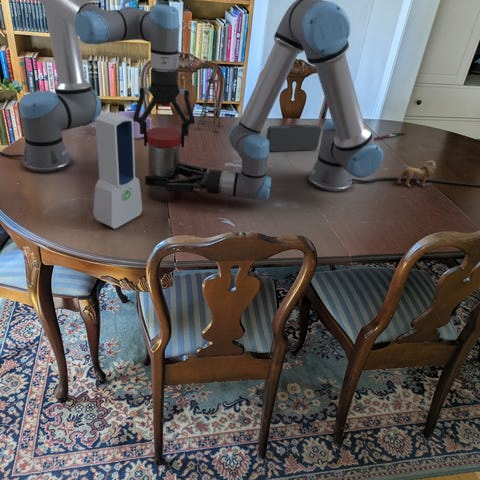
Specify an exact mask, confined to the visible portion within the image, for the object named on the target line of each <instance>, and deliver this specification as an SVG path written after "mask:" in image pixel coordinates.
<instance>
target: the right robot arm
mask: <svg viewBox="0 0 480 480" xmlns="http://www.w3.org/2000/svg"><path fill="white" fill-rule="evenodd" d="M350 21H351V20H350V18H349V16H348V14H347V12H346V11H345V10H344V9H343V8H342V7H341V6H339V5H338V4H337V3H335V2H333V1H330V0H329V1H328V0H295V1H294V2H292V4H291V5H289V7H288V8H287V10H286V11H285V13H284V14H283V16H282V18H281V20H280V22H279V24H278V26H277V28H276V31H275V33H274V35H273V40H274V44H273V46H272V48H271V51H270V52H269V55H268V57H267V59H266V62H265V64H264V66H263V68H262V71H261V72H260V75H259V77H258V79H257V82H256V84H255V86H254V88H253V90H252V93H251V95H250V97H249V99H248V101H247V104H246V105H245V108H244V111H243V113H242V115H241V117H240V119H239V121H238V124H235V125H233V126H232V128H231V129H230V130H229V133H228V140H229V142H230V145H231V146H232V148H233V149H234V150H235V151H236V153H237V154H238V157H240V159H241V168H240V169H241V170H240V172H236V171H229V170H223V171H222V170H220V169H214V168H213V169H212V168H211V169H209V171H208V168H207V167H201V166H197V165H192V164H188V163H184V162H180V161H179V176H183V177H184V178H179V179H174V180H169V179H168V178H160V177H153V176H149V175H145V176H144V183H145V184H144V185H146V186H149V185H152V186H159V187H166V189H167V192H179V193H193V194H200V193H201V192H200V191H201V190H204V189H205V190H206V193H207V194H211V195H219V194H220V195H221V196H226V197H235V198H242V199H249V200H253V201H267V200H269V198H270V192H271V186H272V185H271V184H272V177H270V176H268V175H266V173H267V167H268V159H269V154H270V151H269V140H268V139H267V138H266V137H265V136H262V135H260V134H261V132H262V129H263V128H264V125H265V123H266V122H267V119H268V117H269V115H270V113H271V111H272V109H273V107H274V105H275V103H276V101H277V99H278V97H279V95H280V92H281V91H282V88H283V86H284V84H285V83H286V80H287V78H288V76H289V74H290V72H291V70H292V68H293V66H294V64H295V62H296V59H297V57H298V55H300V54H302V53H304V54H305V57H306V60H307V63H308V64H310V65H313V66H314V67H315V70H316V73H317V76H318V80H319V82H320V86H321V89H322V92H323V95H324V99H325V102H326V105H327V108H328V111H329V114H330V117H331V118H328V119H326V120H325V122H324V124H323V128H322V132H321V133H322V134H321V139H320V143H319V149H318V154H317V159H316V161H315V163H314V165H313V167H312V168H311V170H310V172H309V175H308V182H309V183H310V184H311V185H312V186H313V187H314V188H317V189H319V190H322V191H327V192H331V193H341V192H346V191H348V190H349V189H350V188H351V187H352V183H353V182H357V183H362V184H368V183H374V182H378V181H397V180H398V178H399V177H400V176H398V177H395V176H394V177H392V176H391V177H390V176H389V177H388V176H387V177H385V176H384V177H376V178H373V179H364V178H367V177H369V176H372V175H373V174H374V173H376V171H377V170H378V169H379V167H380V165H382V162H383V159H384V152H383V150H382V148H381V147H380V146H379V145H378V144H376V142H375V140H374V139H373V138H374V135H373V132H372V131H373V130H372V128H371V126H369V125H367V124H365V122H364V118H363V115H362V111H361V107H360V104H359V100H358V96H357V92H356V89H355V85H354V82H353V81H354V80H353V77H352V74H351V70H350V66H349V63H348V59H347V55H346V53H347V51H348V50H349V48H350V44H349V40H348V39H349V36H351V35H350V34H351V22H350ZM353 177H354V178H353ZM417 179H418V178H414V177H412V178H411V179H410V181H417ZM406 180H407V177H403V178H401V180H400V181H406ZM422 180H423V179H422V178H420V182H422ZM425 182H431V183H441V184H451V185H459V186H471V187H480V185H476V184H477V183H473V184H466V183H467V182H461V181H453V180H443V179H433V178H426V181H425Z"/></svg>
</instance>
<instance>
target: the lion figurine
mask: <svg viewBox="0 0 480 480" xmlns="http://www.w3.org/2000/svg"><path fill="white" fill-rule="evenodd" d="M435 170H436V162H435V161H434V160H431V159H430V160H427V161H425V163H424V164H423V165H422V167H420V168H419V167H418V168H415V167H411V166H408V167H406V168H405V169H403V171H402V172H401V173H400V176H398V177H399V178H398V180H396V185H399V184H401V183H402V182H401V181H402V180H401V178H407V180H405V184H406V186H407V187H409V188H410V187H411V184H410V183H409V182H410V181H411V180H410V179H411V178H418V179H417V181H416V183H417V184H421V187H425V186H426V185H425V183H426V182H427V181H426V179H429V178H430V177H431V176H432V175H433V174H434V172H435ZM420 178H422V179H423V180H422V181H420Z"/></svg>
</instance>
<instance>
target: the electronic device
mask: <svg viewBox="0 0 480 480" xmlns="http://www.w3.org/2000/svg"><path fill="white" fill-rule="evenodd" d="M116 113H117V112H112V111H106V112H103V113H102V112H101V115H99V116H98V117H96V118H95V122H94V124H95V136H96V137H95V139H96V150H97V163H98V174H99V175H98V176H99V179H98V180H97V182H96V184H95V186H94V198H93V211H92V214H93V216H94V218H95V220H96V221H97V222H99V223H102V224H104V225H105V226H108V227H110V228H112V229H114V230H116V229H117V228H119V227H121V226H123V225H125V224H126V223H129V222H130V221H132V220H133V219H136V218H137V217H139V216H141V214H142V212H143V202H142V192H141V191H142V190H141V184H140V183H141V182H140V178H138V177H136V161H135V160H136V159H135V158H136V157H135V156H136V155H135V138H134V125H133V119H131V118H128V117H125V116H122V115H119V114H116Z"/></svg>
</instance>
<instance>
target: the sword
mask: <svg viewBox="0 0 480 480" xmlns="http://www.w3.org/2000/svg"><path fill="white" fill-rule="evenodd" d="M406 134H408V132H407V133H403V134H401V133H400V132H392V133H389V134H387V135H381V136H378V137H373V139H374V141H378V140H381V139H386V138H391V137H397V136H399V135H406Z"/></svg>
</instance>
